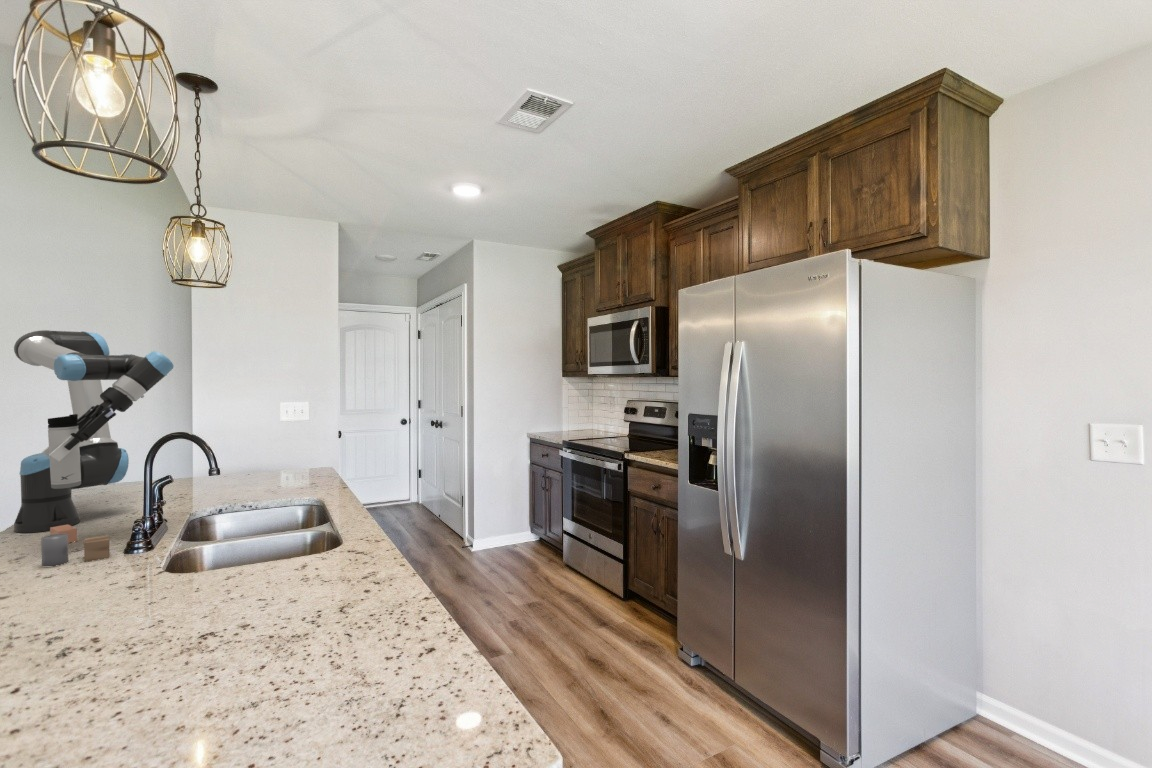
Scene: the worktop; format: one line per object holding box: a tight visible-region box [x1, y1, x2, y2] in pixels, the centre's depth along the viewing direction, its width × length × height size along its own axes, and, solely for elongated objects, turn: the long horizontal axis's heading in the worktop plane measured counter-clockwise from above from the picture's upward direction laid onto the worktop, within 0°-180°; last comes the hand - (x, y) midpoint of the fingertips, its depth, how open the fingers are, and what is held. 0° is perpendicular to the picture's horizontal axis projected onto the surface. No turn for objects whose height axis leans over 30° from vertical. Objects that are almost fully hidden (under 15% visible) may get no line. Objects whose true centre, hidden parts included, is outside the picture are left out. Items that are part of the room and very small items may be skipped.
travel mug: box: [47, 413, 81, 489], centre depth 156 cm, size 6×7×20 cm
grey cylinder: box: [40, 534, 69, 567], centre depth 145 cm, size 5×5×7 cm
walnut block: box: [83, 534, 111, 563], centre depth 149 cm, size 5×5×5 cm
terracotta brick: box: [49, 524, 78, 544], centre depth 164 cm, size 8×4×4 cm, turn 55°
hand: (50, 456), depth 154 cm, fingers closed on travel mug, 6 cm apart
